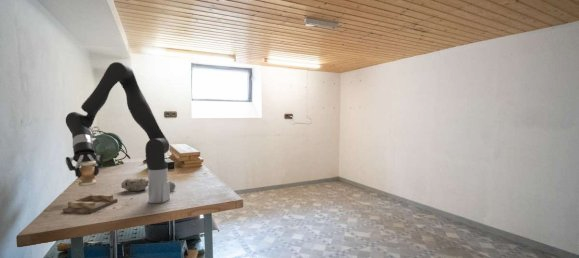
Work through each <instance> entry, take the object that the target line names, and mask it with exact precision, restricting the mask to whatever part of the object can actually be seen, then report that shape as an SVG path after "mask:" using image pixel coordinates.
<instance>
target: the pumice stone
mask: <svg viewBox="0 0 579 258" xmlns="http://www.w3.org/2000/svg"><path fill="white" fill-rule="evenodd" d="M120 185H121V186H120V187H121V189H124V190H126V191H128V192H140V191H143V190H145V189H146V188H147V187H148V178H126V179H124V180H123V181H122V182H121V184H120Z"/></svg>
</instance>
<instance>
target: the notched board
mask: <svg viewBox="0 0 579 258" xmlns="http://www.w3.org/2000/svg"><path fill="white" fill-rule="evenodd" d="M118 201H119V200H118V198H114V195H113V194H112V195H111V194H97V193H94V194H88V195H85V196H82V197H79V198H77V199H72V200H70V201H67V206H66V207H64V208H62V212H63V213H76V214H77V213H78V214H79V213H81V214H93V213H95V212H97V211H100V210H102V209H105V208H106V207H108V206H111V205H113V204H115V203H117V202H118Z"/></svg>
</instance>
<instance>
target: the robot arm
mask: <svg viewBox="0 0 579 258" xmlns="http://www.w3.org/2000/svg"><path fill="white" fill-rule="evenodd" d="M118 83H119V84H120V85H121V87H122V88H123V90H124V93H125V95H126V105H127V107H128V110H129V111H128V112H129V113H130V115H131V116H132V118H133V120H134V122H136V124H137V125H139V127H140V128H141V129H142V130H143V131H144V132H145V134H146V135H147V137H148V139H149V140H148V141H147V142H146V143H145V148H144V149H145V151H144V152H145V163H146V166H147V180H148V186H147V187H148V189H147V193H148V203H149V204H161V203H162V204H164V203H165V202H167V201H168V200H170V199H171V191H170V182H171V181H169V179H168V178H169V175H168V173H169V171H168V170H169V168H168V167H169V166H168V164H169V163H168V162H167V161H166V157H165V154H166V153H168V152H169V150H170V143H169V140H168V139H167V138H166V136H165V134H164V132H163V131H162V129H161V127H160V126H159V123H158V121H157V120H156V117H155V116H154V113H153V110H152V109H151V107H150V105H149V103H148V102H147V99H146V97H145V95H144V94H143V92H142V90H141V88H140V86H139V84H138V81H137V79H136V76H135V73H134V71H133V69H132V68H131V67H130V66H128V65H126V64H124V63H122V62H120V61H119V62H118V61H116V62H112V63H111V64H109V65H108V67H107V69H106V70H105V71H104V74H103V76H102V77H101V79H100V80H99V82H98V83H97V85H96V87H95V88H94V90H93V91H92V93H91V94H90V95H89V96H88V97H87V98H86V100H85V101H84V102H83V103H82V105H81V106H80V108H81V109H82V111H83V112H85V113H86V114H82V113H79V112H76V111H72V112H69V113H68V114H66V117H65V124H66V125H65V126H67V128H68V129H69V132H70V133H71V136H72V137H71V138H72V149H73V151H72V152H73V156H72V157H70V156H67V157H65V164H66V165H67V168H68V170H69V171H74V174H75V177H77V178H80V170H79V168H80V167H81V166H78V162H83V161H96V159H97V160H98V161H99V162H96V164H95V165H93V166H94V167H95V177H96V176H98V175H99V173H100V171H99V168H102V167H103V165H104V154H100V155H99V154H98V155H97V154H96V152H95V147H94V143H93V142H94V141H93V139H92V134H91V129H90V128H91V127H92V125H93V124H94V121H95V118H96V116H97V114H98V112H99V111H100V110H101V109H102V108H103V106H104V105H105V104H106V103H107V101H108V98H109V94H110V93H111V90H112V89H113V88H114V86H116V84H118ZM73 161H74V162H75V163H76V164H75V165H73ZM168 181H169V182H168Z"/></svg>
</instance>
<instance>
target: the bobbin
mask: <svg viewBox="0 0 579 258" xmlns="http://www.w3.org/2000/svg"><path fill="white" fill-rule="evenodd" d="M96 163H97V162H96V160H95V161H83V162H78V166H80V168H79V170H80V178H79V181H78V183H77V184H78V187H87V186H88V187H89V186H92V185H96V184H97V180H96V179H95V177H96V176H95V167H94V166H93V165H95V164H96Z"/></svg>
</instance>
